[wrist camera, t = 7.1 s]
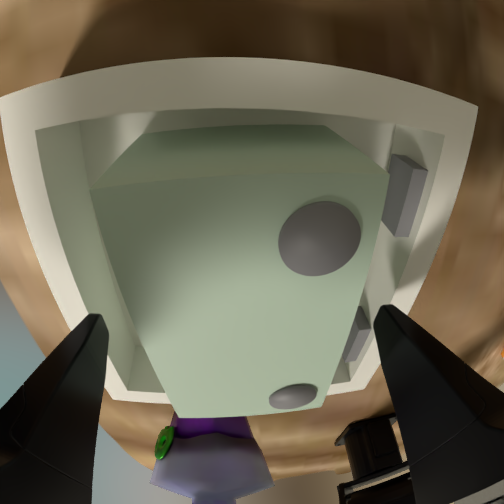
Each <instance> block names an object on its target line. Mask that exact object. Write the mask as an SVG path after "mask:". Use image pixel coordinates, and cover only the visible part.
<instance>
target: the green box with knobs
mask: <svg viewBox="0 0 504 504" xmlns="http://www.w3.org/2000/svg"><path fill="white" fill-rule="evenodd" d="M389 178H390V174H389V173H388V172H386V171H385V170H384V169H383V168H382V167H380V166H379V165H378V164H377V163H375V162H374V161H373V160H372V159H370V158H369V157H368V156H366V155H365V154H364V153H363V152H361V151H360V150H359V149H357V148H356V147H355V146H353V145H352V144H351V143H349V142H348V141H346V140H345V139H344V138H342V137H341V136H339V135H338V134H337V133H335V132H334V131H332V130H331V129H330V128H328V127H327V126H325V125H293V124H269V125H234V126H216V127H202V128H190V129H180V130H170V131H162V132H153V133H146V134H142V135H140V136H139V137H138V138H137V139H136V140H135V141H134V142H133V143H132V144H131V145H130V146H129V147H128V148H127V149H126V150H125V151H124V152H123V153H122V154H121V155H120V156H119V157H118V159H117V160H116V161H115V162H114V163H113V164H112V165H111V166H110V167H109V168H108V169H107V170H106V171H105V172H104V173H103V175H102V176H101V177H100V178H99V179H98V180H97V181H96V182H95V184H94V185H93V186H92V187H91V188H90V189H89V191H90V195H91V199H92V203H93V207H94V210H95V214H96V217H97V221H98V225H99V228H100V231H101V235H102V238H103V241H104V244H105V248H106V251H107V254H108V257H109V260H110V263H111V266H112V269H113V272H114V274H115V277H116V280H117V283H118V286H119V288H120V291H121V294H122V296H123V299H124V302H125V304H126V307H127V309H128V312H129V314H130V317H131V319H132V322H133V324H134V326H135V329H136V331H137V333H138V336H139V338H140V340H141V343H142V345H143V347H144V349H145V352H146V354H147V356H148V358H149V360H150V362H151V364H152V367H153V369H154V371H155V373H156V375H157V377H158V379H159V381H160V383H161V385H162V387H163V389H164V391H165V393H166V395H167V397H168V399H169V400H170V402H171V404H172V406H173V408H174V410H175V412H176V413H177V415H178V417H179V418H216V417H237V416H251V415H263V414H273V413H282V412H290V411H298V410H305V409H311V408H318V407H321V406H322V404H323V402H324V399H325V397H326V395H327V392H328V390H329V387H330V385H331V382H332V380H333V377H334V374H335V372H336V369H337V367H338V364H339V361H340V358H341V356H342V353H343V350H344V347H345V345H346V342H347V339H348V336H349V333H350V330H351V327H352V324H353V321H354V318H355V315H356V311H357V308H358V305H359V302H360V299H361V295H362V292H363V288H364V285H365V281H366V278H367V274H368V271H369V267H370V263H371V259H372V256H373V252H374V248H375V244H376V240H377V235H378V231H379V227H380V222H381V218H382V213H383V209H384V204H385V199H386V194H387V189H388V183H389Z"/></svg>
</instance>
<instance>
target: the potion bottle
mask: <svg viewBox="0 0 504 504" xmlns="http://www.w3.org/2000/svg"><path fill="white" fill-rule="evenodd" d="M155 457H156V458H157V459H156V463H155V466H154V470H153V473H152V477H151V480H150V483H151V484H153V485H155V486H158V487H161V488H163V489H166V490H169V491H171V492H174V493H177V494H180V495H183V496H186V497H189V498H192V504H236V499H238V498H241V497H244V496H247V495H250V494H253V493H256V492H259V491H262V490H265V489H268V488H270V487H273V486H275V485H274V482H273V479H272V477H271V474H270V472H269V469H268V466H267V464H266V461H265V458H264V456H263V453H262V450H261V449H260V447H259V446H258V444H257V442H256V441H255V439H254V437H253V434H252V432H251V429H250V426H249V423H248V420H247V417H246V416H237V417H216V418H179V417H178V415H177V413H176V412H175V411H174V415H173V418H172V421H171V425H170V426H166V427H165V429H162V430H161V432H160V434H159V435H158V439H157V442H156V446H155Z"/></svg>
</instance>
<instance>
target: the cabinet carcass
mask: <svg viewBox="0 0 504 504" xmlns="http://www.w3.org/2000/svg"><path fill="white" fill-rule="evenodd" d="M477 112H478V106H476V105H473V104H471V103H468V102H466V101H463V100H461V99H458V98H455V97H453V96H450V95H447V94H444V93H441V92H438V91H435V90H432V89H429V88H426V87H423V86H420V85H416V84H413V83H409V82H406V81H402V80H399V79H395V78H391V77H387V76H383V75H378V74H374V73H369V72H365V71H360V70H355V69H349V68H344V67H338V66H332V65H325V64H318V63H311V62H302V61H293V60H282V59H268V58H246V57H204V58H183V59H169V60H158V61H149V62H140V63H133V64H126V65H120V66H113V67H108V68H102V69H97V70H92V71H87V72H83V73H78V74H74V75H70V76H66V77H62V78H58V79H55V80H51V81H48V82H44V83H41V84H38V85H34V86H31V87H28V88H25V89H22V90H19V91H16V92H14V93H11V94H8V95H5V96H3V97H0V114H1V122H2V129H3V135H4V141H5V146H6V152H7V157H8V162H9V166H10V171H11V175H12V179H13V183H14V187H15V191H16V195H17V198H18V202H19V205H20V209H21V212H22V215H23V218H24V222H25V225H26V228H27V231H28V234H29V236H30V239H31V242H32V245H33V248H34V250H35V253H36V256H37V258H38V261H39V263H40V266H41V268H42V271H43V273H44V275H45V278H46V280H47V282H48V285H49V287H50V289H51V291H52V294H53V296H54V298H55V300H56V302H57V304H58V306H59V308H60V310H61V312H62V314H63V316H64V318H65V320H66V322H67V324H68V326H69V328H70V330H71V331H72V330H73V329H74V328H75V327H76V326H77V325H78V324H79V323H80V322H81V321H82V320H83V319H84V318H85V317H86V316H87V315H88V314H90V313H98V314H101V315H102V316H103V319H104V321H105V323H106V326H107V328H108V331H109V344H108V355H107V367H106V378H105V385H104V387H105V388H106V390H107V391H108V393H109V394H110V396H111V397H112V399H114V400H123V401H135V402H148V403H166V404H171V402H170V400H169V399H168V397H167V395H166V393H165V391H164V389H163V387H162V385H161V383H160V381H159V379H158V377H157V375H156V373H155V371H154V369H153V367H152V364H151V362H150V360H149V358H148V356H147V354H146V352H145V349H144V347H143V345H142V343H141V340H140V338H139V336H138V333H137V331H136V329H135V326H134V324H133V322H132V319H131V317H130V314H129V312H128V309H127V307H126V304H125V302H124V299H123V296H122V294H121V291H120V288H119V286H118V283H117V280H116V277H115V274H114V272H113V269H112V266H111V263H110V260H109V257H108V254H107V251H106V248H105V244H104V241H103V238H102V235H101V231H100V228H99V225H98V221H97V217H96V214H95V210H94V207H93V203H92V199H91V195H90V191H89V189H90V188H91V187H92V186H93V185H94V184H95V182H96V181H97V180H98V179H99V178H100V177H101V176H102V175H103V173H104V172H105V171H106V170H107V169H108V168H109V167H110V166H111V165H112V164H113V163H114V162H115V161H116V160H117V159H118V157H119V156H120V155H121V154H122V153H123V152H124V151H125V150H126V149H127V148H128V147H129V146H130V145H131V144H132V143H133V142H134V141H135V140H136V139H137V138H138V137H139V136H140V135H142V134H146V133H153V132H162V131H170V130H180V129H190V128H202V127H216V126H234V125H269V124H293V125H325V126H327V127H328V128H330V129H331V130H332V131H334V132H335V133H337V134H338V135H339V136H341V137H342V138H344V139H345V140H346V141H348V142H349V143H351V144H352V145H353V146H355V147H356V148H357V149H359V150H360V151H361V152H363V153H364V154H365V155H366V156H368V157H369V158H370V159H372V160H373V161H374V162H375V163H377V164H378V165H379V166H380V167H382V168H383V169H384V170H385V171H386V172H388V173H389V174H390V178H389V183H388V189H387V194H386V199H385V204H384V209H383V213H382V218H381V222H380V227H379V231H378V235H377V240H376V244H375V248H374V252H373V256H372V259H371V263H370V267H369V271H368V274H367V278H366V281H365V285H364V288H363V292H362V295H361V299H360V302H359V305H358V308H357V311H356V315H355V318H354V321H353V324H352V327H351V330H350V333H349V336H348V339H347V342H346V345H345V347H344V350H343V353H342V356H341V358H340V361H339V364H338V367H337V369H336V372H335V374H334V377H333V380H332V382H331V385H330V387H329V390H328V392H327V395H332V394H338V393H345V392H350V391H356V390H361V389H364V388H365V387H366V385H367V384H368V382H369V381H370V379H371V377H372V376H373V374H374V373H375V371H376V369H377V368H378V366H379V365H380V363H381V361H380V357H379V352H378V347H377V342H376V338H375V333H374V329H373V322H374V319H375V317H376V315H377V313H378V310H379V308H380V306H382V305H385V304H393V305H394V306H396V307H397V308H398V309H400V310H401V311H402V312H403V313H405V314H406V315H408V313H409V311H410V309H411V307H412V305H413V303H414V301H415V299H416V297H417V295H418V293H419V291H420V288H421V286H422V284H423V282H424V280H425V278H426V275H427V273H428V271H429V268H430V266H431V264H432V261H433V259H434V257H435V254H436V252H437V249H438V247H439V244H440V242H441V239H442V237H443V234H444V231H445V229H446V226H447V223H448V220H449V218H450V215H451V212H452V209H453V206H454V203H455V200H456V197H457V193H458V190H459V187H460V184H461V180H462V177H463V173H464V170H465V166H466V162H467V158H468V154H469V150H470V146H471V142H472V137H473V133H474V128H475V123H476V118H477Z"/></svg>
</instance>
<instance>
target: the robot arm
mask: <svg viewBox="0 0 504 504" xmlns="http://www.w3.org/2000/svg"><path fill="white" fill-rule="evenodd" d="M373 329H374V333H375V338H376V342H377V347H378V352H379V357H380V361H381V366H382V369H383V373H384V376H385V379H386V382H387V386H388V389H389V392H390V396H391V399H392V403H393V406H394V410H395V413H396V414H393V415H390V416H386V417H382V418H378V419H374V420H370V421H365V422H361V423H356V424H352V425H350V426H348V427H347V429H346V430H345V431H344V432H343V433H342V435H341V436H340V437H339V438H338V439H337V440H336V442H335V443H334V444H335V446H340V445H345V447H346V451H347V455H348V459H349V463H350V467H351V471H352V475H353V481H350V482H347V483H341V484H339V486H337V489H338V494H339V504H450V503H453V502H454V504H504V393H503V392H502V391H500V390H499V389H498V388H496V387H495V386H494V385H492V384H491V383H490V382H488V381H487V380H486V379H484V378H483V377H482V376H480V375H479V374H478V373H477V372H475V371H474V370H473V369H472V368H471V367H470V366H468V365H467V364H466V363H464V361H462V360H461V359H460V358H459V357H458V356H456V355H455V354H454V353H453V352H452V351H450V350H449V349H448V348H447V347H446V346H444V345H443V344H442V343H441V342H439V341H438V340H437V339H436V338H435V337H433V336H432V335H431V334H430V333H428V332H427V331H426V330H425V329H423V328H422V327H421V326H420V325H418V324H417V323H416V322H415V321H413V320H412V319H411V318H410V317H408V316H407V315H406V314H405V313H403V312H402V311H401V310H400V309H398V308H397V307H396V306H394V305H393V304H385V305H382V306H380V308H379V310H378V313H377V315H376V317H375V319H374V322H373ZM108 344H109V331H108V328H107V326H106V323H105V321H104V319H103V316H102V315H101V314H98V313H90V314H88V315H87V316H86V317H85V318H84V319H83V320H82V321H81V322H80V323H79V324H78V325H77V326H76V327H75V328H74V329H73V330H72V331H71V332H70V333H69V334H68V335H67V336H66V337H65V338H64V340H63V341H62V342H61V343H60V344H59V345H58V346H57V347H56V348H55V349H54V350H53V351H52V352H51V353H50V354H49V356H48V357H47V358H46V359H45V360H44V361H43V362H42V363H41V364H40V365H39V366H38V368H37V369H36V370H35V371H34V372H33V373H32V374H31V375H30V377H29V378H28V379H27V380H26V381H25V382H24V385H22V386H21V387H20V388H19V389H18V390H17V392H16V393H15V394H14V395H13V396H12V397H11V398H10V399H9V400H8V402H7V403H6V404H5V405H4V406H3V407H2V408H1V409H0V504H91V503H92V502H91V501H92V480H93V467H94V456H95V447H96V437H97V430H98V422H99V415H100V409H101V402H102V396H103V390H104V385H105V378H106V367H107V355H108ZM396 421H398V424H399V428H400V432H401V436H402V440H403V444H404V448H405V452H406V456H407V461H405V462H403V461H402V458H401V454H400V451H399V446H398V443H397V440H396V437H395V434H394V431H393V428H392V425H393V424H394V423H395V422H396ZM402 462H403V463H402ZM407 469H409V470H410V472H408V473H406V474H403V475H401V476H399V477H396V478H393V479H390V480H388V481H385V482H382V483H380V484H377V485H374V486H371V487H368V488H365V489H362V490H359V491H355V492H353V489H355V488H358V487H361V486H364V485H367V484H370V483H373V482H376V481H379V480H381V479H384V478H387V477H389V476H392V475H395V474H397V473H400V472H402V471H405V470H407Z"/></svg>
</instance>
